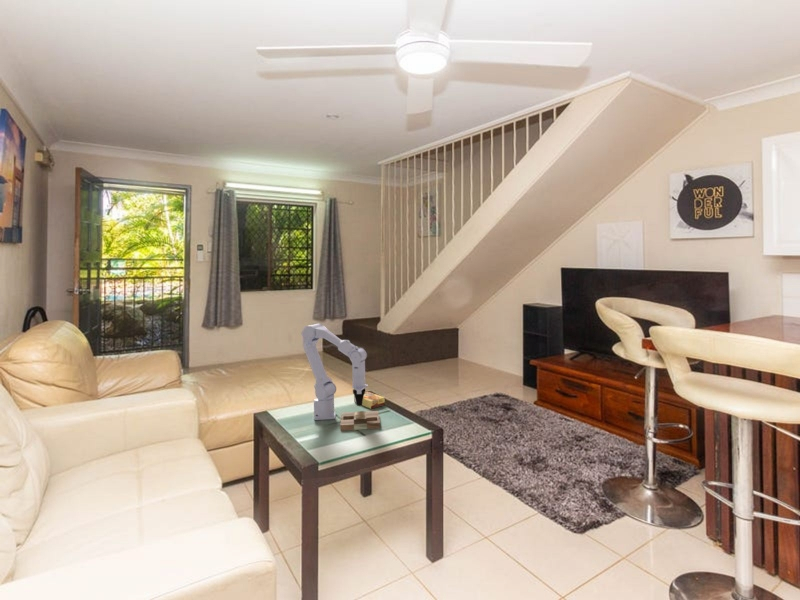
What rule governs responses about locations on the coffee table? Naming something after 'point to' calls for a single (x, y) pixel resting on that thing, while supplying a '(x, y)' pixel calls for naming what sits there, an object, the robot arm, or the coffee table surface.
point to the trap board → (360, 421)
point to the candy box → (372, 400)
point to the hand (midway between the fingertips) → (359, 405)
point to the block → (360, 415)
